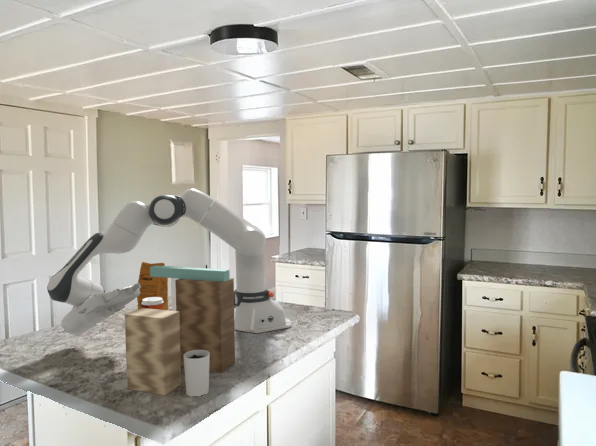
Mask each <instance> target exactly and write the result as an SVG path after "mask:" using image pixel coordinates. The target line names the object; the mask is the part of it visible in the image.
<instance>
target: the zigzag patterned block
mask: <svg viewBox="0 0 596 446" xmlns="http://www.w3.org/2000/svg"><path fill="white" fill-rule="evenodd" d="M124 329H125V331H124V332H125V333H124V334H125V360H126V363H125V364H126V365H125V366H126V383H127V385H126V387H127V389H128V390H134V391H140V392H144V393H152V394H157V395H161V396H166V395H168V394H170V393H171V392H172V391H174V390H175V389H177V388H178V387H179V386H181V385H182V367H181V356H180V318H179V311H172V310H169V309H168V310H159V309H149V308H141V309H138V308H137V309H136V310H134V311H133V310H132V311H131V312H127V313H124Z"/></svg>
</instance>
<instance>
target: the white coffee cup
mask: <svg viewBox="0 0 596 446" xmlns="http://www.w3.org/2000/svg"><path fill="white" fill-rule="evenodd" d="M209 358H210V353H209V352H208V351H206V350H192V351H189V352H186V353H185V354H184V367H183V369H184V381H185V393H186V395H187V396H188V395H189V396H188V397H192V396H198V397H201V395H203V396H205V395H207V394H208V393H209V389H210V388H209V387H210V371H209ZM204 394H205V395H204Z"/></svg>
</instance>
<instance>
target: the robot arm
mask: <svg viewBox="0 0 596 446" xmlns="http://www.w3.org/2000/svg"><path fill="white" fill-rule="evenodd" d="M181 218H189V219H190V220H192V221H194V222H195V223H196V224H199V225H200V226H201V227H203V228H204V229H206V231H209V232H210V233H212V234H214V235H215V236H217V238H219V239H221V240H222V241H223V242H225V243H226V244H228V245H229V246H230V247H231V248H233V249H234V250H235V252H234V253H235V275H236V276H235V278H236V279H235V280H236V282H235V283H236V286H235V287H236V288H235V290H236V291H235V290H234V291H235V304H234V305H235V313H234V326H235V331H239V332H248V333H254V334H261V333H266V332H272V331H276V330H282V329H287V328H291V327H292V322H291V320H290V319H289V318H287V317H286V313H285V310H284V308H283V307H282V306H281V305H279V304H278V303H277V302H275V301H274V300H273V299H271V298H273V297H274V296H275V294H274V292H272V291H270V290H268V289H266V267H265V266H266V265H265V249H266V248H265V247H266V245H267V238H266V235H265V234H264V232H263V231H262V229H260V228H259V227H258V226H256V225H254V224H252V223H251V222H249V221H248V220H246V219H245V218H244V217H242V216H241V215H239V214H237V213H236V212H235V211H234V210H232V209H230V208H228V207H227V206H226V205H224V204H222V203H221V202H219V200H216V199H215V198H213V197H212V196H210V195H209V194H207V193H205V192H203V191H201V190H199V189H196V188H188V189H186V190H184V191H183V192H182V193H181V194H180V195H173V194H172V195H171V194H159V195H158V196H156V197H154V199H152V200H151V202H150V203H149V204H146V203H144V202H142V201H139V200H131V201H129V202H127V203H126V205H125V206H124V207H122V209H121V210H120V212H119V213H118V214H117V215H116V216H115V218H114V219H113V221H112V223H111V224H110V225H109V226H108V227H107V228H106V229H104V230H102V232H96V233H94V234H93V235H92V236H91V237H89V238H88V239H87V240H86V241H85V242H84V244H82V245H81V247H80V248H79V249H78V250H77V251H76V253H75V254H74V255H73V256H72V257H71V258H70V259H69V260H68V262H67V263H66V264H65V265H64V266H63V267H62V268H61V269H60V270H58V271H57V272H56V273H55V274H54V275H53V276H52V277H51V278H50V280H49V281H48V284H47V287H46V289H47V293H48V295H49V297H50V299H51V300H52V301H55V302H59V303H64V304H67V305H69V306H70V305H71V306H72V308H71V310H70V311H69V312H67V314H65V315H64V316H63V317H62V319H61V320H60V321H61V322H60V324H61V327H62V329H63V330H64V331H65V332H66V333H68V334H70V335H74V336H77V335H81V334H84V333H86V332H87V331H90V330H91V329H92V328H94V327H95V326H96V325H97V324H100V323H102V322H104V321H106V320H107V319H108V318H110V317H112V316H113V315H115V313H118V312H120V311H122V310H123V309H125V308H126V305H128V304H129V303H131V302H132V301H133V300H134V301H135V300H136V299H137V296H139V295H140V290H139V289H140V288H141V285H140V283H138V282H136V283H135V284H133V285H130V286H126V287H123V288H120V289H119V288H116V289H114V290H112V291H107V292H106V290H105V289H104V286H103V285H102V284H100V283H97V282H94V281H92V280H90V279H87V278H84V277H81V276H79V274H80V273H81V271H82V270H84V268H85V267H86V265H87V264H88V263H89V262H90V261H91V260H92V259H93V258H94V257H95V256H97V255H101V254H116V255H117V254H125V253H128V252H130V251H132V250H133V249H135V247H136V246H137V245H138V243H139V242H140V240H141V238H142V237H143V235H144V233H145V232H146V230H147V229H148V228H149V227H150V226H151V225H155V226H159V227H164V228H165V227H167V228H169V227H172V226H175V225H176V224H177V223H178V222H179V221H180V219H181Z"/></svg>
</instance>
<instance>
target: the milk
mask: <svg viewBox="0 0 596 446" xmlns="http://www.w3.org/2000/svg"><path fill="white" fill-rule="evenodd" d="M175 267H185V266H183V265H176V266H175ZM175 280H178V278H170V290H171V291H170V293H171V296H170V297H171V311H176V283H175Z"/></svg>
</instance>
